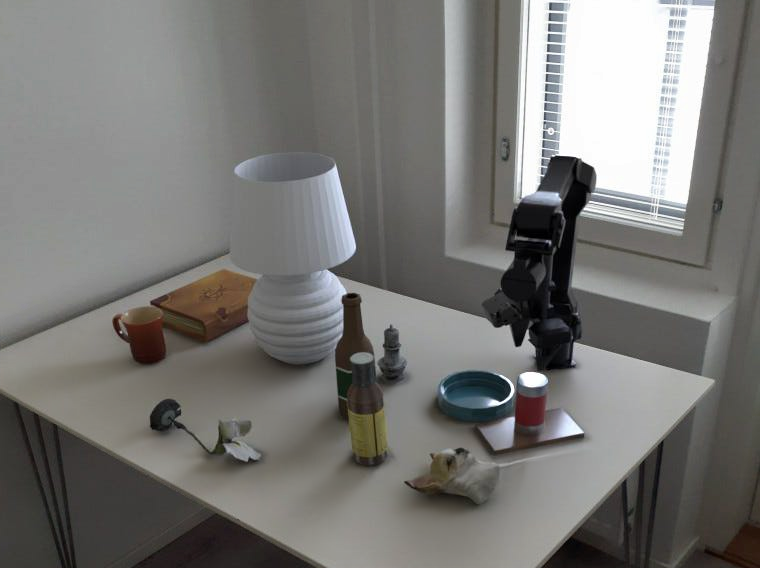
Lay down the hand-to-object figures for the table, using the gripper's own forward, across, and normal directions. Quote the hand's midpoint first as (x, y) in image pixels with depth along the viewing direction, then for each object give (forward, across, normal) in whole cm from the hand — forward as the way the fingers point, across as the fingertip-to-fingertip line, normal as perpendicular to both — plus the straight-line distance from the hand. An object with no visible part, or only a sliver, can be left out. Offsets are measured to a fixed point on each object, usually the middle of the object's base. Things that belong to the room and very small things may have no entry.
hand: (528, 358), depth 152 cm
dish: (+13, -8, -6) cm, 16 cm away
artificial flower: (+12, -11, -57) cm, 59 cm away
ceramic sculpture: (+12, +16, -20) cm, 28 cm away
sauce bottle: (+13, +2, -31) cm, 33 cm away
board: (+13, +5, -2) cm, 14 cm away
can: (+11, +5, -2) cm, 13 cm away
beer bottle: (+13, -13, -28) cm, 34 cm away
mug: (+13, -50, -66) cm, 84 cm away
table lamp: (+13, -40, -33) cm, 53 cm away
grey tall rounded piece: (+13, -23, -18) cm, 32 cm away
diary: (+13, -65, -48) cm, 82 cm away
